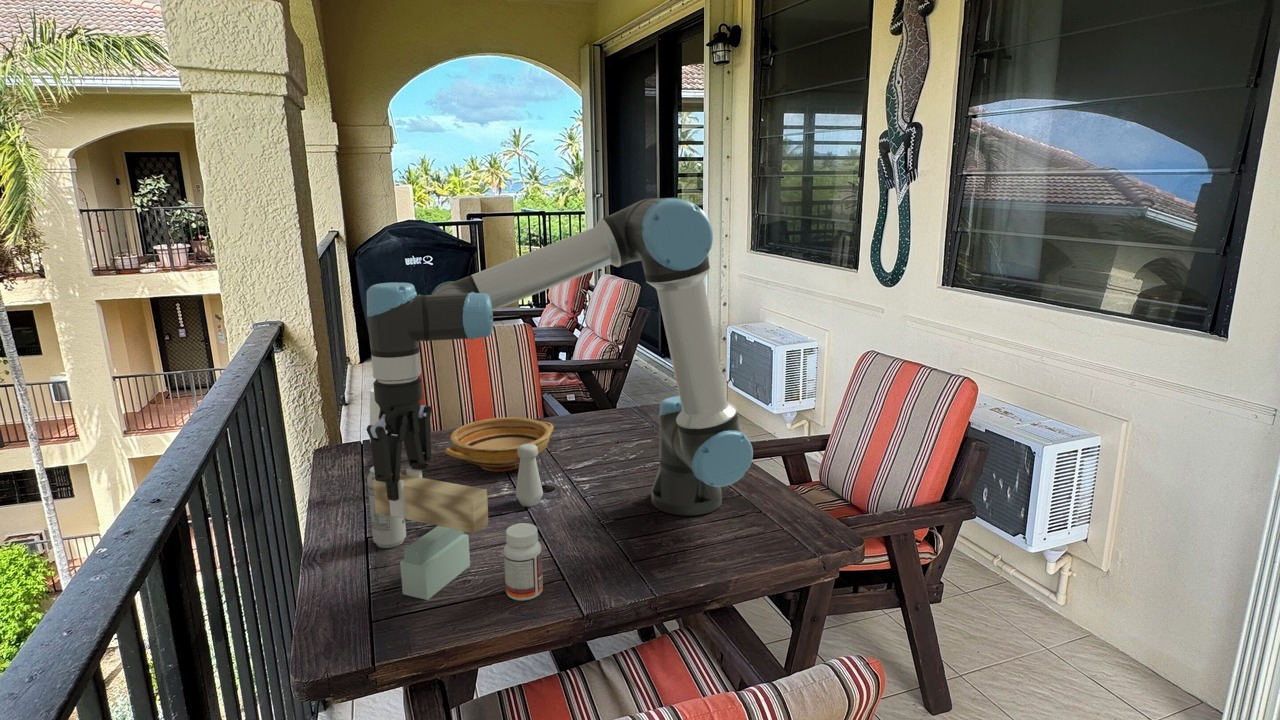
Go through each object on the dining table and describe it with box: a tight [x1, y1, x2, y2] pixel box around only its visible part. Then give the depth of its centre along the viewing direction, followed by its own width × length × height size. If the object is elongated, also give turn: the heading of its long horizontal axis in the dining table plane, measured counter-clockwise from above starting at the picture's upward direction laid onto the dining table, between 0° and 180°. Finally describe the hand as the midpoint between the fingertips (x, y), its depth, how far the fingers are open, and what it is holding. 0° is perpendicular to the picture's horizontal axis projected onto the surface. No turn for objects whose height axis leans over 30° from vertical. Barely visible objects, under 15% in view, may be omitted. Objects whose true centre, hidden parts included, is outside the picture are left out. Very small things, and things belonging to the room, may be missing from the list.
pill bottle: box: [503, 522, 544, 601], centre depth 119 cm, size 6×6×11 cm
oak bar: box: [373, 473, 489, 534], centre depth 121 cm, size 20×4×6 cm, turn 68°
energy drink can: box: [366, 465, 407, 549], centre depth 136 cm, size 6×6×15 cm
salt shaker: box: [515, 444, 544, 508], centre depth 153 cm, size 6×6×13 cm
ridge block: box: [399, 525, 471, 601], centre depth 124 cm, size 5×12×8 cm, turn 158°
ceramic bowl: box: [444, 416, 554, 472], centre depth 177 cm, size 30×24×8 cm
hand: (407, 510), depth 123 cm, fingers closed on oak bar, 4 cm apart
